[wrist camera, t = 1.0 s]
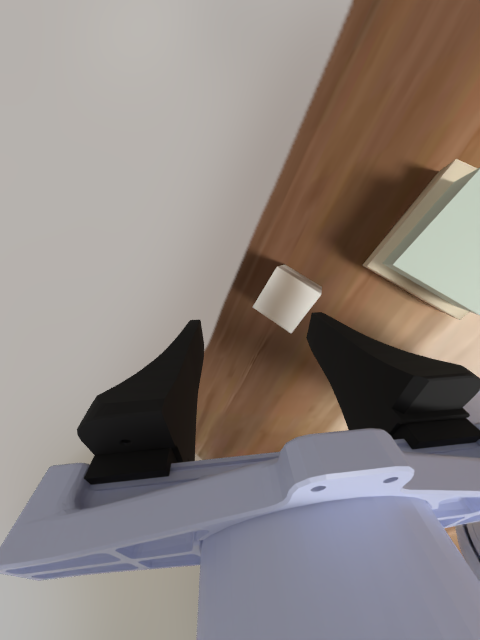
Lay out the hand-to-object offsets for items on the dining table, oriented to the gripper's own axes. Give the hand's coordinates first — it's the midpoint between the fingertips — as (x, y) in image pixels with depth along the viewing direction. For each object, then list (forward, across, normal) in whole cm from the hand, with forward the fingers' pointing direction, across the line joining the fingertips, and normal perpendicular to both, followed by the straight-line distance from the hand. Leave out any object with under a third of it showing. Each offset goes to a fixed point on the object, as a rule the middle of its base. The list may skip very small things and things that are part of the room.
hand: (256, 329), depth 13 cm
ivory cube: (+11, -6, +3) cm, 13 cm away
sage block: (+5, -17, -3) cm, 18 cm away
